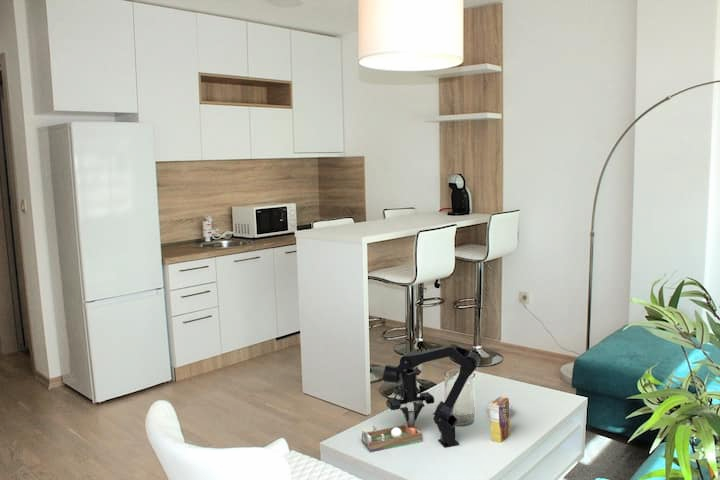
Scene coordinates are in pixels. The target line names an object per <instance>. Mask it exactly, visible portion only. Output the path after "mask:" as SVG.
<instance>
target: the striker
mask: <svg viewBox="0 0 720 480" xmlns="http://www.w3.org/2000/svg"><path fill="white" fill-rule="evenodd" d="M404 425H405V432H406V433H407V434H408V435H411V434H416V433H415V429H414V427H416V421H415V414H414V410H408V422H406V423H404Z"/></svg>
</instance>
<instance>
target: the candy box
mask: <svg viewBox="0 0 720 480" xmlns="http://www.w3.org/2000/svg"><path fill="white" fill-rule="evenodd" d="M494 400H495V401H493V400H492V401H493V402H492V403H490V417H491V418H490V433H491V434H490V435H491V441H493V442H497V443H502V442H503V441H504V440H506V439H507V438H508V437H509V436H510V435H511V423H510V422H511V420H510V418H511V416H510V417H509V403H510V401H509V397H504V396H499V397H498V398H496V399H494Z"/></svg>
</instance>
